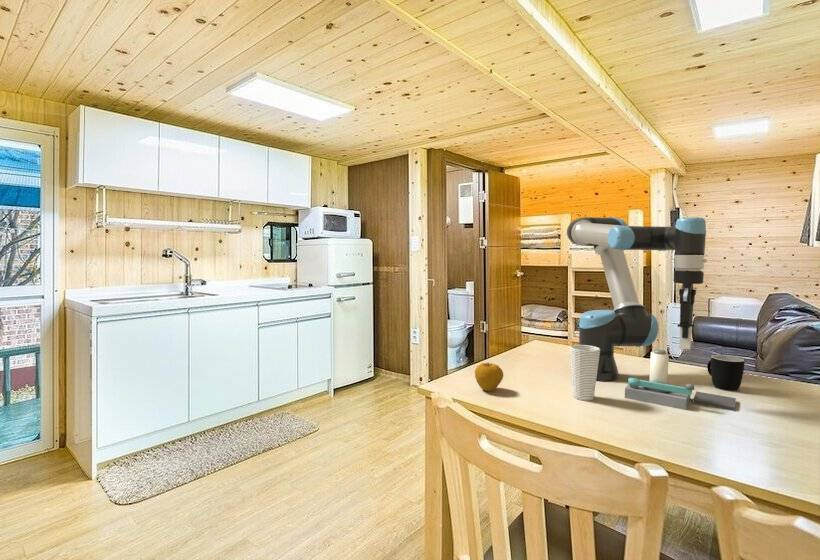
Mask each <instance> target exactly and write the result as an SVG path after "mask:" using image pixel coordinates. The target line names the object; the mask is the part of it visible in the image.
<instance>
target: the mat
mask: <svg viewBox="0 0 820 560" xmlns="http://www.w3.org/2000/svg"><path fill="white" fill-rule="evenodd" d="M736 400H737V398H736V397H733V396H732V397H731V396H725V395H720V394H715V393H714V394H713V393H709V392H708V393H707V392H704V391H703V392H702V391H695V395H694V396H693V398H692V404H696V405H702V406H706V407H707V406H708V407H713V408H718V409H723V410H729V411H734V412H735V411H736V410H735V409H736Z"/></svg>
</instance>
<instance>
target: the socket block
mask: <svg viewBox="0 0 820 560" xmlns="http://www.w3.org/2000/svg"><path fill="white" fill-rule="evenodd" d="M691 396H692V395H687V394H682V393H676V392H667V393H663V392H657V391H652V390H648V389H646V388H644V387H642V386H632V385H629V384H628V383H627V386H625V387H624V398H625V399H628V400H635V401H640V402H644V403H650V404H655V405H660V406H665V407H671V408H674V409H680V410H685V411H686V410H687V408H688V406H689V403H690V400H691Z"/></svg>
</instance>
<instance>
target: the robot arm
mask: <svg viewBox="0 0 820 560" xmlns="http://www.w3.org/2000/svg"><path fill="white" fill-rule="evenodd" d="M706 223H707V221H706V218H704V217H695V216H694V217H693V216H692V217H681V218H678V219H676V222H675V225H672V226H656V225H655V226H647V225H646V226H645V225H644V226H640V225H639V226H638V225H637V226H636V225H628V223H627V222H625V220H623V219H622V218H620V217H619V218H618V217H613V216H609V217H597V216H596V217H593V216H592V217H591V216H584V217H578V218H576V219H574V220H572V222H570V223H569V224H568V226H567V229H566V236H567V238H568V240H569V241H570V242H571V243H573V244H575V245H577V246H582V247H586V246H587V247H593V250H594V253H595V254H597V255H598V256H600V259H601V263H602V267H603V272H604V275H605V279H606V282H607V283H606V284H607V285H608V290H609V293H610V297H611V302H612V304H613V309H612V310H611V309H593V310H588V311H584V312H583V313H582V314H581V315H580V316H579V317H580V318H579V324H578V327H579V331H578V332H579V333H578V335H579V336H578V345H590V346H595V347H598V348H600V355H599V363H598V370H597V378H596V381H601V382H602V381H603V382H604V381H605V382H608V381H615V380H617V379H619V370H618V367H617V362H616V360H615V355H614V354H615V353H614V351H615V347H636V348H637V347H638V348H640V347H647V346H651V345H652V344H653V343H654V342H655V341H656V339H657V337H658V334H659V321H658V320H657V318H656V316H655V315H653V314H652V313H648V311H647V309H646V306H645V305H643V304H641V303H640V302H639V298H638V295H637V291H636V288H635V285H634V281H633V278H632V276H631V275H632V274H631V271H630V268H629V265H628V260H627V258H626V255H625V251H660V252H661V251H662V252H665V251H674V255H673V257H674V258H673V268H674V269H675V270H674V271H673V278H672V279H673V282H674V283H675V284H681V285H682V287H681V288H680V289H679V290H678V295H679V304H680V307H679V308H680V309H679V324H677V327H679V328H680V329H679V349H683V350H691V347H692V345H691V344H692V328H694V327H695V324H693V314H694V304H695V297H696V295H697V289H694V285H700V284H703V283H704V271H703V270H704V268H705V263H708V262H707V261H708V260H707V259H706V258H705V251H706V250H705V249H706V237H707V236H706V235H707V227H706V226H707V225H706Z"/></svg>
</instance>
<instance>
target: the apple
mask: <svg viewBox="0 0 820 560" xmlns="http://www.w3.org/2000/svg"><path fill="white" fill-rule="evenodd" d="M474 377H475V380H476V383H477V385H478V386H479V387H480V388H481V390H483V391H485V392H493V391H494V390H496V389H497V387H498V386H499V385H500V384H501V382H502V381H503V379H504V371H503V369H502V368H501V367H500V365H498V364H496V363H493V362H492V363H490V362H482V363H480V364H478V365H477V366H476V367H475V370H474Z"/></svg>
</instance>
